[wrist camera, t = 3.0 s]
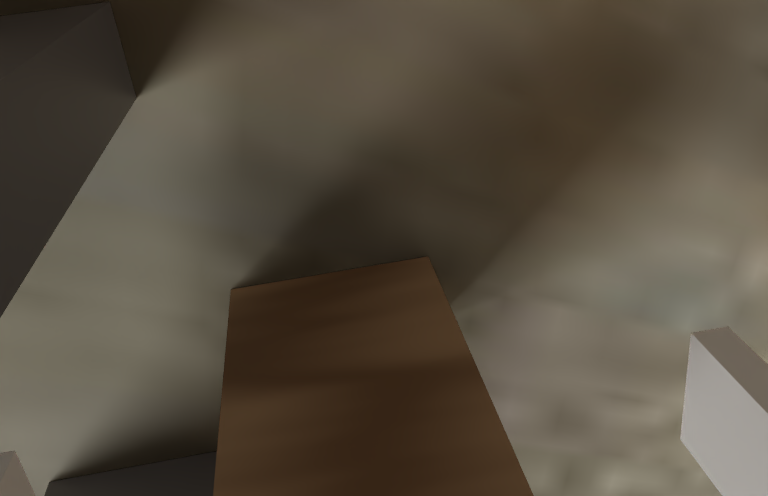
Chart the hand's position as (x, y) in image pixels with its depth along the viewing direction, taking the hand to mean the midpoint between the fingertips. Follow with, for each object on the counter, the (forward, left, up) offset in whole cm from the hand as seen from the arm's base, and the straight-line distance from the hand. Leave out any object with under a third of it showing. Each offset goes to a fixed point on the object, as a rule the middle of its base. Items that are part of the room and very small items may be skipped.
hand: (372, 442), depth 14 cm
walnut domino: (0, 0, -5) cm, 5 cm away
